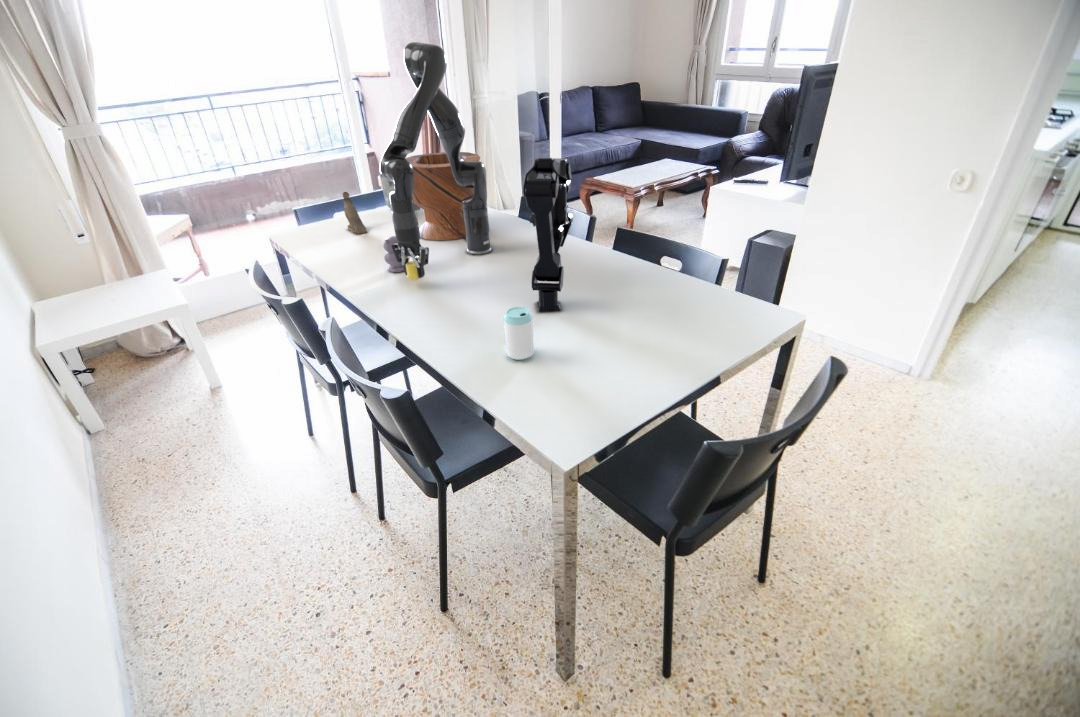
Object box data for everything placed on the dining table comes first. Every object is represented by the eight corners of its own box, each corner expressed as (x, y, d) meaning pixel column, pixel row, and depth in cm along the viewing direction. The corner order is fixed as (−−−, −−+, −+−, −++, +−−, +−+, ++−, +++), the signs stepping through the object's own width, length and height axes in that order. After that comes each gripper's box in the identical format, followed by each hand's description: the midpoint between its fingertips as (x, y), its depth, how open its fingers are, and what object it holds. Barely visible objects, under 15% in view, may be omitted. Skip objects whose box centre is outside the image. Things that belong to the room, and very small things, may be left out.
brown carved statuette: (348, 234, 227) (335, 193, 221) (360, 231, 230) (348, 191, 223) (356, 234, 218) (343, 192, 211) (368, 231, 221) (355, 189, 214)
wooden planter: (394, 239, 210) (380, 166, 195) (433, 216, 239) (423, 151, 223) (469, 244, 201) (460, 168, 186) (499, 220, 230) (494, 152, 214)
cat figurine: (401, 263, 186) (395, 231, 179) (414, 267, 181) (409, 235, 175) (382, 270, 180) (375, 237, 174) (395, 274, 176) (388, 241, 169)
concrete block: (383, 207, 257) (375, 166, 246) (398, 204, 261) (391, 164, 251) (406, 217, 239) (398, 174, 228) (422, 214, 243) (415, 171, 233)
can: (533, 346, 129) (531, 304, 123) (534, 360, 123) (532, 317, 117) (506, 347, 129) (503, 306, 123) (506, 362, 123) (502, 318, 117)
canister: (420, 273, 167) (418, 260, 165) (423, 278, 163) (421, 264, 161) (406, 275, 166) (404, 262, 163) (409, 280, 162) (406, 267, 159)
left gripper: (431, 224, 155) (439, 275, 164) (396, 219, 161) (405, 269, 170) (416, 230, 150) (424, 283, 159) (380, 225, 156) (390, 276, 165)
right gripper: (539, 194, 161) (540, 240, 169) (523, 209, 146) (526, 260, 154) (573, 194, 159) (573, 242, 167) (560, 210, 143) (561, 262, 151)
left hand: (414, 275), depth 164 cm, fingers closed on canister, 4 cm apart
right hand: (558, 251), depth 160 cm, fingers open, 9 cm apart
